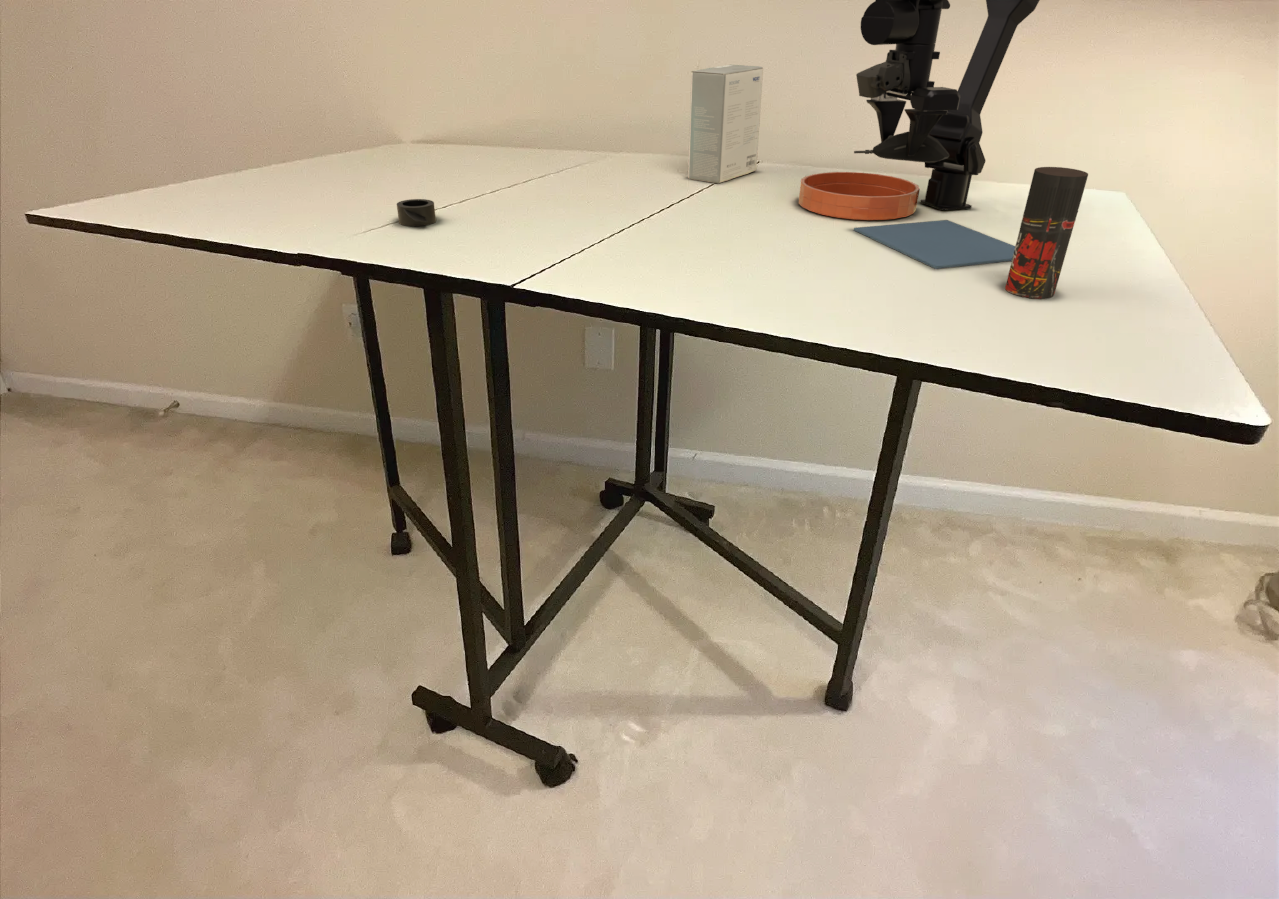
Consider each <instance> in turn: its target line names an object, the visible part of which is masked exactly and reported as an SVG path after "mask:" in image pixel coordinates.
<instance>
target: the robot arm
mask: <svg viewBox="0 0 1279 899" xmlns="http://www.w3.org/2000/svg"><path fill="white" fill-rule="evenodd" d="M985 3H986V11H987V18H986V20H985V23H984V26H983V27H982V29H981V33H980V35H979V38H978V40H977V43H976V45H975V47H974V50H973V52H972V55H971V57H970V59H969V62H968V64H967V67H966V69H965V72H964V74H963V76H962V79H961V81H960V83H959V87H958V89H955V88H950V87H945V86H935V81H933V80H930V77H931V72H932V67H933V60H940V54H941V51H936V50H935V49H936V43H937V37H938V31H939V27H940V21H941V15H942V10H949V9H950V7H951V3H950V1H949V0H875V1H873V2H872V3H870V4H869V5H868V7H867V8H866V9H865V11H864V13H863V15H862V17H861V19H860V32H861V33H860V34H861V36H862V38H863V40H864V41H865V42H866V43H867V44H869V45H871V46H882V45H883V46H887V45H888V46H889V45H895V48H894V49H889V51H888V52H887V54H886V60H885V61H884V62H881V63H878V64H875V65H873V66H870V67H868V68H865V69H863V70H861V71H859V72H858V73H856V75H855V76H856V82H857V89H858V96H859V97H862V98H867V99H866V103H867V104H869V105H870V106H871V107H872V109H873V110H874V111H875V112H876V117H877V123H878V130H879V137H880V143H881V142H883V141H884V140H886V139H887V138H888V137H889V136H890V135H893V136H894V135H896V131H897V128H898V126H899V123H900V120H901V117H902V115H903V112H905V114H906V116H907V118H908V119H909V127H908V128H909V129H908V131H909V137H908V151H907V154H908V156H914V155H915V154H916V152H917V151H918V149H919V148H920V146H921V145H922V143H923V142H924V140H925V139H926V137H927V136H928V135H930V136H932V137H934V138H936V139H937V140H938V141H939V142H940V143H941V145H942V146H943V147H944V148H945V149H946V151H947V152H948V153H949V157H948V158H947V159H944V160H941V161H937V162H926V163H925V162H924V168H925V169H932V170H931V175H930V178H929V179H928V182H927V187H926V192H925V198H924V199H920V202H919V203H920V204H923V205H926V206H928V207H931V208H934V209H936V210H939V211H955V210H967V209H972V206H973V205H972V204H969V203H967V200H968V196H969V191H970V188H971V182H972V177H973V176H978V175H979V174H981V173H982V172H983V170H984V166H985V164H986V158H985V155H984V152H983V149H982V147H981V144H980V142H981V140H982V136H983V134H984V133H983V131H984V130H983V126H982V118H981V114H982V110H983V108H984V106H985V104H986V101H987V99H988V96H989V95H990V91H991V89H992V87H993V85H994V82H995V79H996V77H997V75H998V72H999V71H1000V67H1002V66H1001V65H1002V63H1003V61H1004V58H1005V56H1006V54H1007V51H1008V49H1009V47H1010V44H1011V41H1012V39H1013V37H1014V34H1015V32H1016V30H1017V28H1018V26H1019V25H1020V24H1021V23H1023V21H1024V20H1026V18H1028V17H1029V16H1030V15H1031V14H1032V13H1033V12H1034V11H1035V10H1036V8H1037V7H1038V5H1039V3H1040V0H985ZM907 101H909V103H910V105H911V108H905V106H906V104H907Z"/></svg>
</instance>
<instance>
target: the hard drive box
mask: <svg viewBox="0 0 1279 899" xmlns="http://www.w3.org/2000/svg"><path fill="white" fill-rule="evenodd" d="M763 67H764V66H759V65H758V66H757V65H744V64H725V65H720V66H719V65H718V66H713V67H707V68H702V69H696V70H692V71H690V72H691V73H690V103H689V104H690V105H689V134H688V136H689V138H688V163H687V164H688V165H687V168H688V169H687V178H688V179H689V180H694V181H701V182H709V183H713V184H720V183H724V182H728V181H730V180H733V179H735V178H738V177H741V176H744V175H748V174H750V173H754V172H756V171H757V168H758V166H757V165H758V152H759V136H760V124H761V123H760V122H761V108H762V107H761V106H762V93H763V77H764V76H763V75H764V68H763Z"/></svg>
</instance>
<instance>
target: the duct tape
mask: <svg viewBox="0 0 1279 899" xmlns="http://www.w3.org/2000/svg"><path fill="white" fill-rule="evenodd" d="M396 209H397V218H398V223H399V225H402V226H403V227H404V226H405V227H425V226H429V225H433V224H435V223H436V222H437V218H436V210H435V202H434V201H433V200H431V199H426V198H412V199H405V200H400V201H397V202H396Z"/></svg>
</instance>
